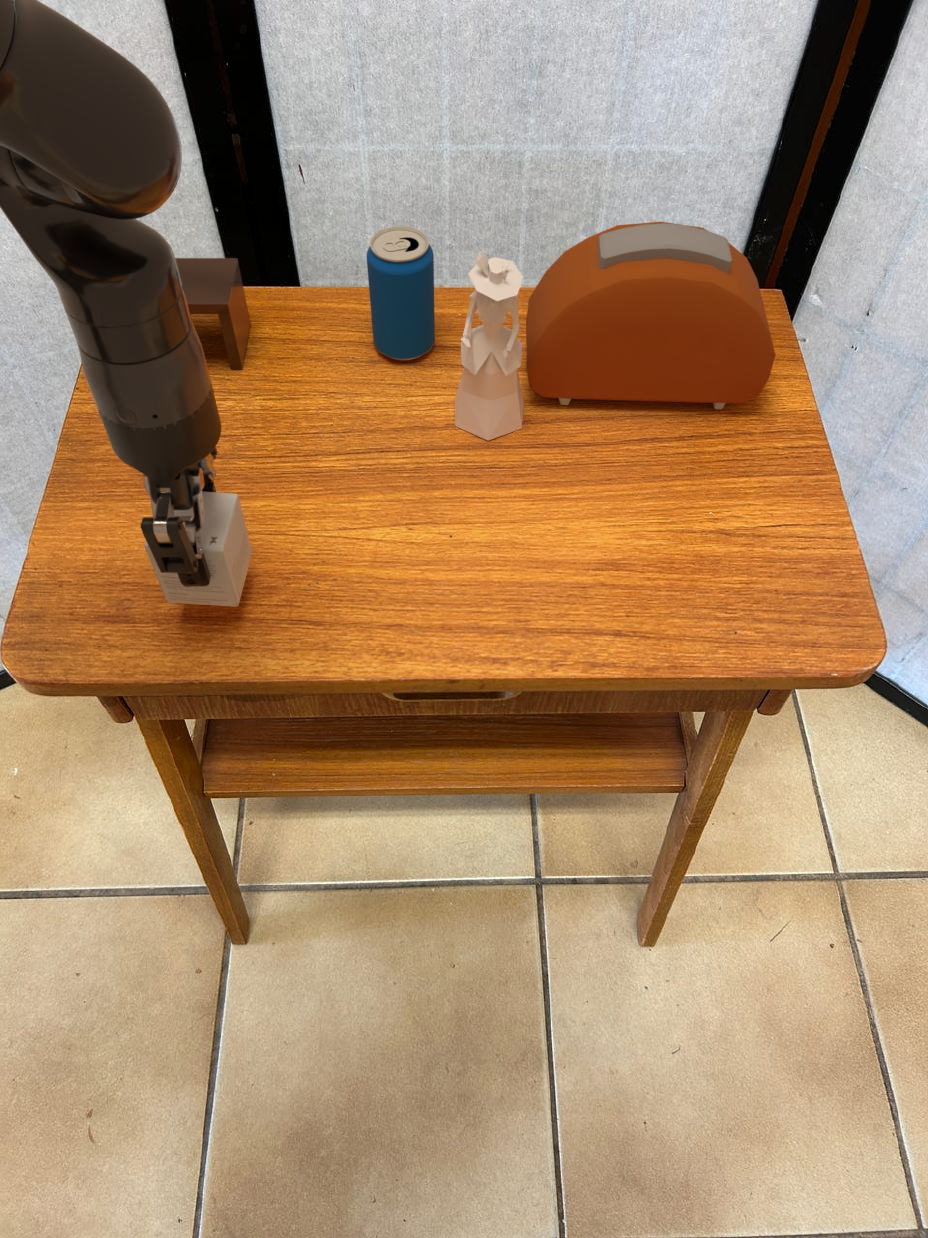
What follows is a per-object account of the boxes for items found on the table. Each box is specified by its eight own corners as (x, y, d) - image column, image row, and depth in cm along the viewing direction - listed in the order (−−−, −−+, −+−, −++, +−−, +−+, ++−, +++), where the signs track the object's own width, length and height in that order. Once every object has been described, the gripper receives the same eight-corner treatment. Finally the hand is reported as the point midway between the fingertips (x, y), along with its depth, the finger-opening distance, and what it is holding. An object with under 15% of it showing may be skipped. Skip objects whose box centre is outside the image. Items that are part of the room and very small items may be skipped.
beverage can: (442, 358, 99) (441, 255, 90) (382, 370, 98) (375, 267, 88) (425, 320, 103) (422, 218, 93) (367, 332, 102) (358, 229, 92)
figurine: (455, 442, 92) (456, 280, 78) (453, 386, 97) (453, 223, 82) (528, 440, 92) (542, 279, 78) (521, 384, 97) (534, 222, 82)
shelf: (242, 369, 98) (227, 303, 92) (135, 370, 98) (112, 303, 91) (251, 323, 102) (237, 257, 96) (148, 323, 102) (127, 257, 96)
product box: (254, 552, 81) (240, 492, 75) (239, 609, 77) (222, 551, 71) (183, 546, 81) (163, 486, 75) (164, 603, 77) (141, 545, 71)
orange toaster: (745, 356, 100) (792, 208, 86) (758, 415, 95) (810, 267, 81) (523, 350, 100) (534, 201, 87) (523, 408, 95) (535, 260, 81)
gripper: (194, 463, 58) (240, 621, 72) (222, 316, 67) (258, 482, 80) (71, 463, 58) (140, 622, 72) (114, 316, 66) (168, 482, 80)
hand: (202, 547), depth 76 cm, fingers closed on product box, 6 cm apart
